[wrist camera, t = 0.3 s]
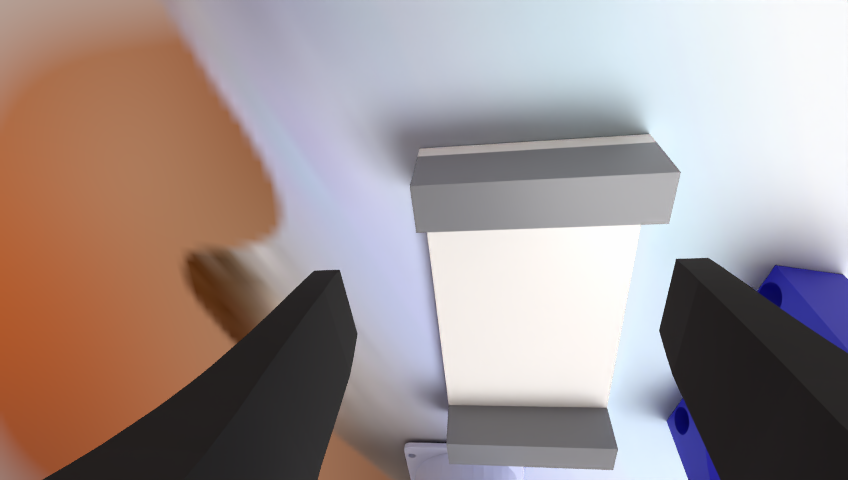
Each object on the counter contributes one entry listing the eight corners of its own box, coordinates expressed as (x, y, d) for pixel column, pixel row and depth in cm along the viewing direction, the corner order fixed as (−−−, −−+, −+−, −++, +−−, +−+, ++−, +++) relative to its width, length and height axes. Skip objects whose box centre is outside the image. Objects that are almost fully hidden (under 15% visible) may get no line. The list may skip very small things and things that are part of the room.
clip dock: (599, 416, 28) (613, 470, 25) (451, 413, 29) (449, 464, 26) (650, 134, 18) (680, 172, 15) (419, 148, 19) (409, 185, 16)
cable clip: (741, 429, 27) (797, 540, 23) (665, 418, 28) (705, 525, 23) (874, 277, 21) (997, 388, 16) (773, 262, 21) (864, 368, 16)
